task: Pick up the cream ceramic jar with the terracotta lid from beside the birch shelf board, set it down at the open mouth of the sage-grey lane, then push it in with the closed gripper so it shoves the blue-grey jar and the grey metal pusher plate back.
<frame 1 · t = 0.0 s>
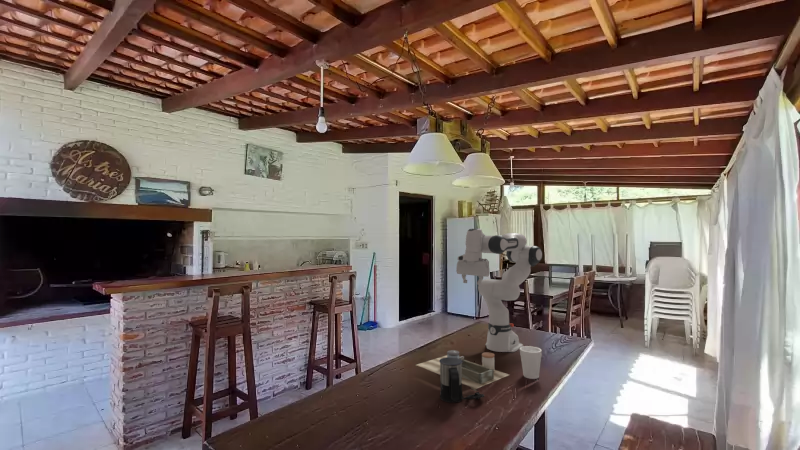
hand: (471, 283, 199), 39 cm above the table, tool pointing down, fingers open, 8 cm apart
pusher: (458, 364, 176), point 4 cm above the table, slide at 0.0 cm
foam cup: (531, 378, 168), on the table
loaded jar: (453, 368, 178), point 1 cm above the table, touching lane
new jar: (488, 371, 175), point 1 cm above the table, touching lane
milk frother: (461, 399, 148), on the table
lane: (466, 375, 172), on the table
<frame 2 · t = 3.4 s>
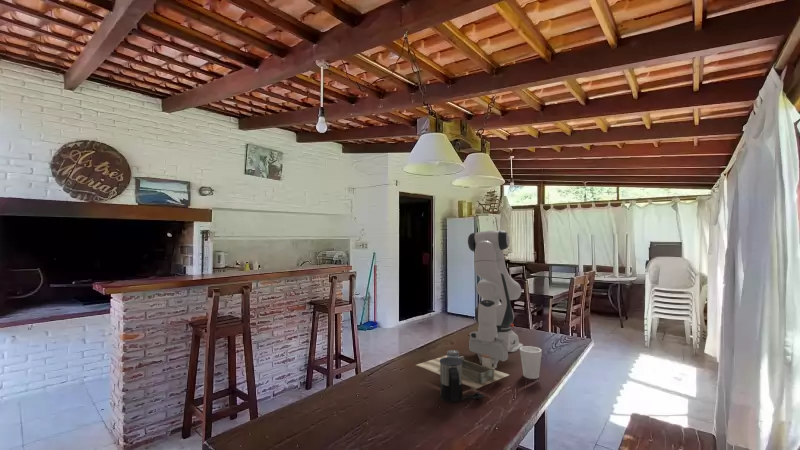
hand: (488, 365, 175), 4 cm above the table, tool pointing down, fingers closed on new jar, 6 cm apart
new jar: (488, 371, 175), point 1 cm above the table, touching gripper, lane
everything else where it was.
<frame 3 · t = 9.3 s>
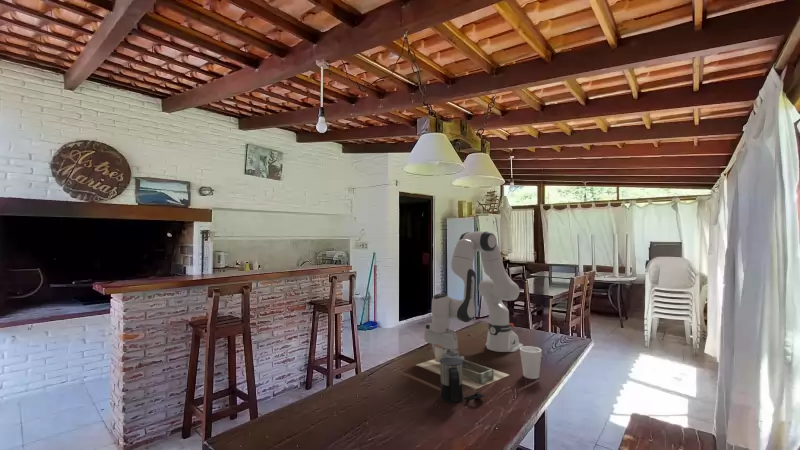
hand: (440, 355, 185), 6 cm above the table, tool pointing down, fingers closed on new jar, 6 cm apart
loaded jar: (453, 368, 178), point 1 cm above the table, touching gripper, lane
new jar: (440, 360, 184), point 3 cm above the table, touching gripper
everything else where it was.
when the fingers open (6 cm above the table, at t = 10.4 s): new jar drops 2 cm, resting on lane.
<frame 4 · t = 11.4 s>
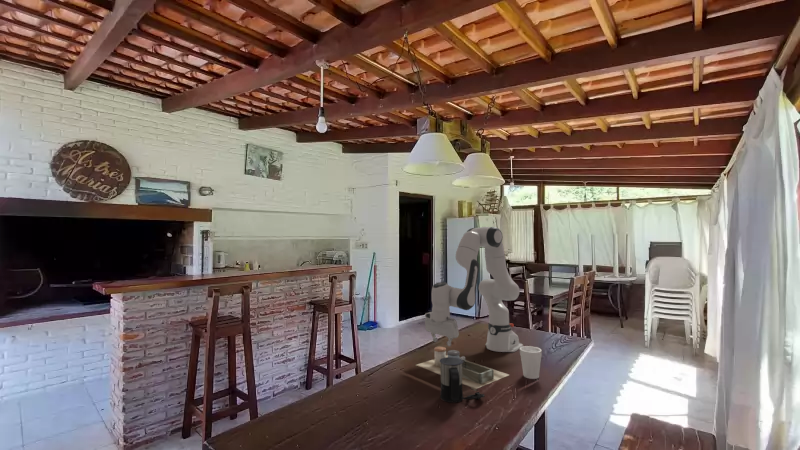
hand: (441, 343, 185), 11 cm above the table, tool pointing down, fingers open, 8 cm apart
pusher: (459, 364, 175), point 4 cm above the table, slide at 0.6 cm
loaded jar: (453, 368, 178), point 1 cm above the table, touching lane
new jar: (440, 364, 184), point 1 cm above the table, touching lane
everything else where it was.
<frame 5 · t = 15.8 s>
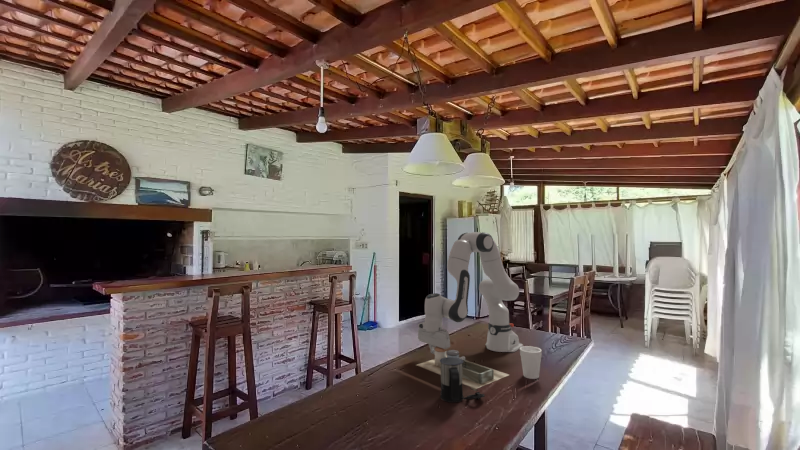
hand: (433, 353, 189), 5 cm above the table, tool pointing down, fingers closed
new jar: (440, 364, 184), point 1 cm above the table, touching gripper, lane
everything else where it was.
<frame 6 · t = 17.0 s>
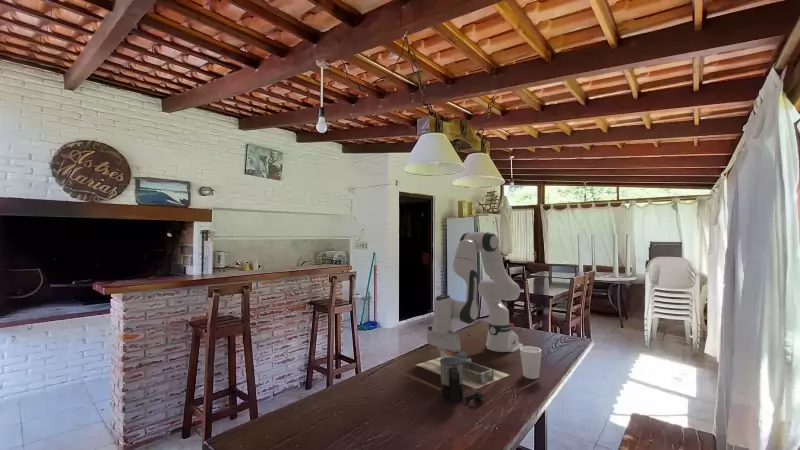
hand: (443, 356, 183), 5 cm above the table, tool pointing down, fingers closed
pusher: (465, 366, 172), point 4 cm above the table, slide at 4.2 cm
loaded jar: (459, 369, 176), point 1 cm above the table, tilted 9°, touching lane, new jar
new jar: (449, 366, 180), point 1 cm above the table, tilted 9°, touching gripper, loaded jar
everything else where it was.
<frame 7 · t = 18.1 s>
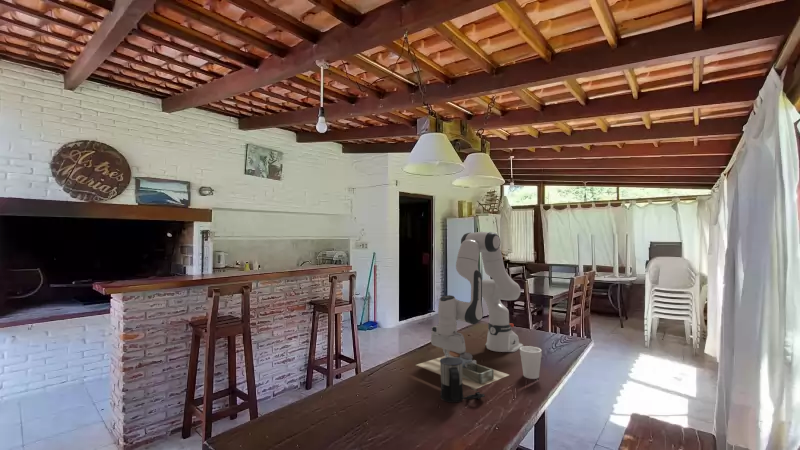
hand: (447, 358, 181), 5 cm above the table, tool pointing down, fingers closed
pusher: (470, 368, 170), point 4 cm above the table, slide at 7.2 cm, touching loaded jar
loaded jar: (464, 371, 174), point 2 cm above the table, tilted 11°, touching lane, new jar, pusher
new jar: (453, 368, 177), point 2 cm above the table, tilted 10°, touching gripper, loaded jar
everything else where it was.
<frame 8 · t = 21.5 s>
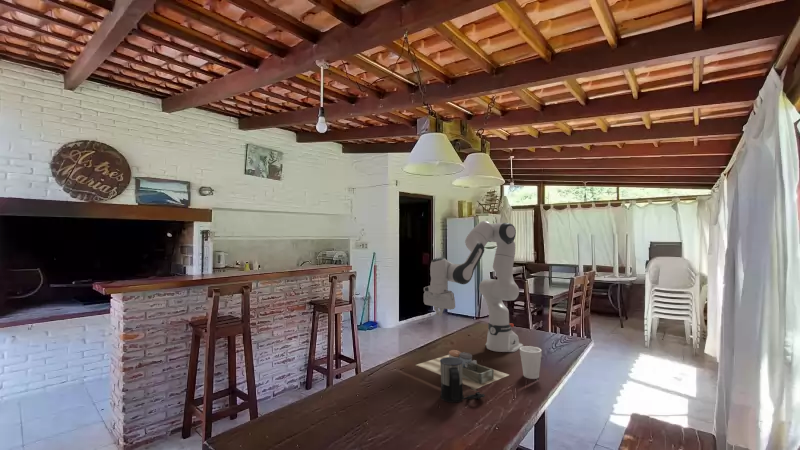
hand: (439, 315, 194), 23 cm above the table, tool pointing down, fingers closed
pusher: (470, 368, 170), point 4 cm above the table, slide at 7.3 cm
loaded jar: (464, 371, 174), point 1 cm above the table, tilted 8°, touching lane, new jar
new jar: (453, 368, 177), point 1 cm above the table, tilted 8°, touching lane, loaded jar
everything else where it was.
at the end: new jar inside the target area (1.7 cm from its centre), point 1.4 cm above the table; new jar tilted 8°; pusher slide at 7.3 cm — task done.
